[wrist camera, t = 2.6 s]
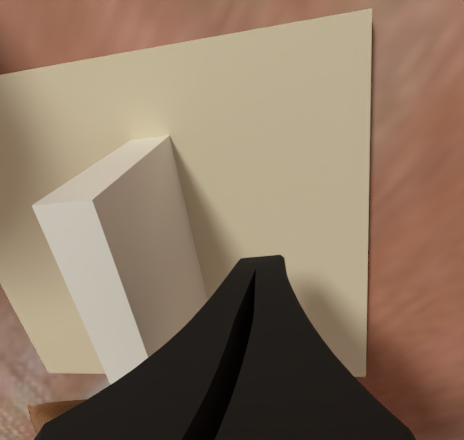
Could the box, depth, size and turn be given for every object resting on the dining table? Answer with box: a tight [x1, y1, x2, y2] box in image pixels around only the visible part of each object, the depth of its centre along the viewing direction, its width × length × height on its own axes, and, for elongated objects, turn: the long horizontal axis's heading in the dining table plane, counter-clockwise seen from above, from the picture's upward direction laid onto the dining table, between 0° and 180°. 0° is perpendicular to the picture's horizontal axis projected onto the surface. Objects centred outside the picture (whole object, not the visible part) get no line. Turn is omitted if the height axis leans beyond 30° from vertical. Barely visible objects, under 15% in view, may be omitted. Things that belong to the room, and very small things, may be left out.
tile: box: [32, 135, 208, 385], centre depth 13 cm, size 2×8×6 cm, turn 9°
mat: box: [0, 8, 372, 377], centre depth 16 cm, size 18×16×1 cm
